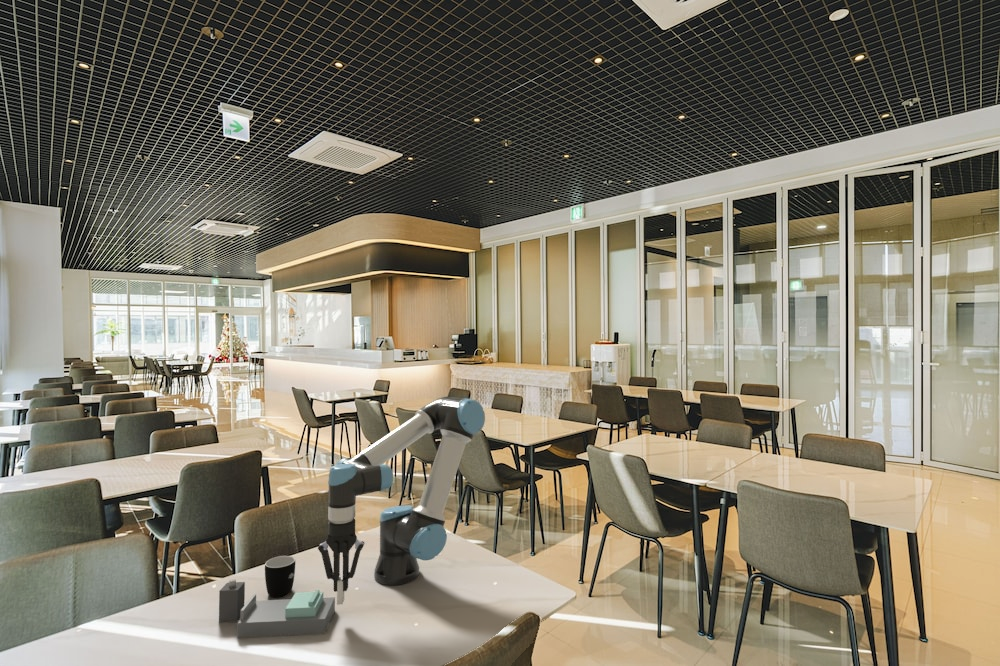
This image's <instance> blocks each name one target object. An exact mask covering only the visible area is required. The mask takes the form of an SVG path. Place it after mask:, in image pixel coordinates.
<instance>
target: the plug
mask: <svg viewBox="0 0 1000 666" xmlns="http://www.w3.org/2000/svg"><path fill="white" fill-rule="evenodd" d="M245 583H246V582H245V581H239V582H238V581H237V580H236V579H234V578H233V579H230V580H229V581H228V582H226V583H225V584H224V585H223V586H222V588H220V589H219V594H218V595H219V596H218V597H219V598H218V599H219V601H218V604H219V606H218V623H238V622H239V621H240V610H241V609H242V608H243V607H244V605H245V599H246V598H245V597H246V596H245V592H246V590H245V589H246V587H245V586H246V584H245Z"/></svg>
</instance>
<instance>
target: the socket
mask: <svg viewBox="0 0 1000 666" xmlns="http://www.w3.org/2000/svg"><path fill="white" fill-rule="evenodd" d="M291 599H292V598H290V599H286V598H285V599H271V600H268V599H267V600H266V599H265V600H257V594H256V593H255V594H254V593H253V594H252V595H251V596H250V598H249V599H248V600H247V601H246V603H244V607H243V608H242V609H241V610H240V619H239V620H238V621H237V628H236V631H237V633H236V636H237V637H236V638H237V639H248V638H266V637H267V638H268V637H269V638H270V637H283V636H284V637H285V636H287V637H288V636H302V635H303V636H305V635H309V636H310V635H322V634H323V635H325V634H326V632H327V629H328V627H329V625H330V623H331V621H332V618H333V616H334V614H335V612H336V597H335V596H334V597H332V596H331V597H323V602H322V604H321V606H320V608H319V610H318V612H317V614H316V616H312V617H291V618H285V608H286V607H287V605H288V604H289V602H290V601H291Z"/></svg>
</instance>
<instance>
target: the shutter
mask: <svg viewBox="0 0 1000 666" xmlns="http://www.w3.org/2000/svg"><path fill="white" fill-rule="evenodd" d="M323 598H324V591H320V589H315V590H314V591H307V592H306V591H304V592H295V593H294V594H293V596H292V598H290V599H291V601H290V602H289V604H288V605H287V607H286V608H285V618H291V617H312V616H316V614H317V612H318V610H319V608H320V606H321V604H322V602H323Z"/></svg>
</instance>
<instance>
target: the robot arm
mask: <svg viewBox="0 0 1000 666" xmlns="http://www.w3.org/2000/svg"><path fill="white" fill-rule="evenodd" d="M485 421H486V413H485V411H484V408H483V406H482V405H481V403H480V402H479V401H477V400H475V399H472V398H468V397H465V398H464V397H456V396H455V397H454V396H442V397H439V398H436V399H435V400H433V401H431V402H429V403H428V404H426V405H424V406H422V407H421V408H420V409H418V410H417V411H416V412H415V414H414V416H413V417H411V418H410V419H408V420H406V421H405V422H403V423H402V424H400V425H399V426H398V427H396V428H394V429H393V430H392V431H390V432H389V433H387V434H385V435H384V436H382V437H381V438H380V439H378V440H377V441H375V442H374V443H373V444H371V445H369V446H368V447H366V448H365V449H363V450H362V451H360V452H359V453H357V454H356V455H354V456H353V457H345V458H342V459H340V460H339V461H337V463H336V464H335V465H332V466H331V467H330V469H329V473H328V482H327V483H328V509H327V510H328V512H327V519H328V523H327V537H326V539H325V541H324V542H321V543H320V544H319V546H318V547H317V550H318V551H319V552H320V554H321V557H322V562H323V565H324V566H323V567H324V570H325V576H326V578H327V580H332V581H333V591H334V592H336V601H337V602H336V605H339V606H340V605H343V604H344V601H345V592H347V591H348V588H349V579H352V578H354V576H355V574H356V569H357V566H358V562H359V558H360V554H361V551H362V550H363V548H364V546H365V541H361V540H359V539H358V537H357V535H356V519H355V518H356V498H357V496H362V495H363V496H364V495H367V494H372V493H376V492H382V491H384V490H388V489H389V488H391V487H392V485H393V482H394V473H393V469H392V468H391V467H390V466H389V465H388V464H385V463H387V462H388V461H390V460H391V459H392V458H394V457H395V456H396V455H398V454H399V453H401V452H402V451H404V450H405V449H406V448H408V447H409V446H411V445H412V444H413V443H415V442H416V441H418V440H419V439H421V438H422V437H423V436H425V435H426V434H433V433H434V432H435V431H437V430H440V434H441V440H440V442H439V443H440V444H439V446H438V447H437V450H436V451H437V452H436V455H435V457H434V460H433V463H432V466H431V469H430V472H429V474H428V476H427V477H428V478H427V481H426V483H425V487H424V488H423V492H422V494H421V498H420V500H419V504H418V505H417V506H415V507H414V506H412V505H396V506H391V507H388V508H385V509H383V510H382V511H381V513H380V516H379V518H380V519H379V554H378V555H379V556H378V559H377V562H376V565H375V568H374V580H375V581H376V582H377V583H379V584H381V585H386V586H398V585H404V584H407V583H411V582H412V581H414V580H416V579H418V577H419V574H420V565H419V562H418V560H417V559H419V560H421V561H430V560H433V559H435V558H436V557H437V556H439V555H440V554H441V553H442V551H443V550H444V548H445V546H446V543H447V538H448V536H447V530H446V528H445V527H444V526H445V523H446V517H445V516H444V511H445V509H446V505H447V502H448V499H449V496H450V493H451V491H452V487H453V484H454V481H455V478H456V475H457V472H458V469H459V466H460V463H461V460H462V457H463V454H464V450H465V448H466V445H467V444H468V443H470V442H472V440H473V437H474V435H476V434H479V432H480V431H482V429H483V427H484V425H485V423H486V422H485ZM354 545H355V546H354ZM353 546H354V548H355V552H354V554H353V555H354V556H353V559H352V563H351V568H350V569H349V567H350V566H349V565H350V562H349V561H350V559H349V558H350V550H352V548H353ZM329 548H330V550H331V551H332V552H333V553H332V555H333V556H332V557H333V566H332V563H331V558H330V552H329ZM341 554H342V576H341V572H340V568H341V567H340V565H341V562H340V561H341ZM349 570H350V571H349Z"/></svg>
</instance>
